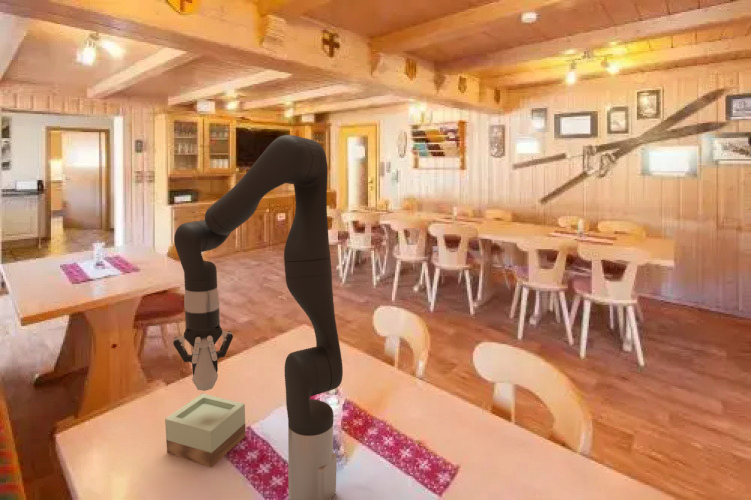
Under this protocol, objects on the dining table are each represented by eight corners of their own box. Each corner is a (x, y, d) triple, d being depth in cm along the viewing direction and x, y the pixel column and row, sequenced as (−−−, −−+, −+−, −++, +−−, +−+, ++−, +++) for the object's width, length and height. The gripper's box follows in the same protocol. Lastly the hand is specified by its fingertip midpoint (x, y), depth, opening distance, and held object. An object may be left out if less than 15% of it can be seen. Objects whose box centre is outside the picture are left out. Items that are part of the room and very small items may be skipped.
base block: (245, 438, 119) (245, 424, 118) (210, 468, 107) (209, 453, 106) (205, 426, 123) (204, 412, 123) (167, 454, 112) (166, 439, 111)
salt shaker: (209, 394, 109) (207, 342, 106) (187, 391, 110) (184, 339, 107) (222, 382, 114) (220, 332, 112) (201, 379, 115) (199, 330, 113)
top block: (245, 423, 118) (244, 403, 117) (211, 453, 106) (210, 431, 105) (203, 412, 123) (202, 393, 121) (166, 439, 111) (165, 418, 109)
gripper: (231, 298, 114) (233, 364, 117) (169, 304, 109) (173, 372, 112) (235, 308, 107) (237, 377, 111) (168, 314, 102) (173, 387, 105)
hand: (205, 374), depth 111 cm, fingers closed on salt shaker, 3 cm apart
